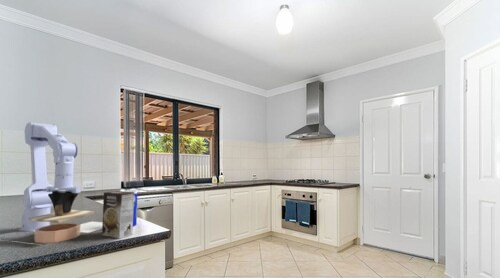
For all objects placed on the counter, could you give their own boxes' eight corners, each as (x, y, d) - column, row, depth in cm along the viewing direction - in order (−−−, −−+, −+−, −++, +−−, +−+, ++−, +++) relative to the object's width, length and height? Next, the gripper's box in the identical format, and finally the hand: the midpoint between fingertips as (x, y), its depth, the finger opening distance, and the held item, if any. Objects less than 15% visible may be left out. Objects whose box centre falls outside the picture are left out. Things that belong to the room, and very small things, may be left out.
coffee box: (100, 236, 97) (102, 192, 98) (115, 232, 103) (117, 190, 104) (119, 239, 93) (120, 193, 95) (133, 234, 99) (134, 191, 101)
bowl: (25, 242, 91) (25, 230, 91) (61, 232, 103) (62, 221, 103) (52, 245, 87) (53, 233, 87) (87, 235, 99) (88, 224, 99)
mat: (58, 231, 105) (58, 229, 105) (91, 222, 119) (91, 221, 119) (87, 234, 100) (88, 232, 100) (118, 224, 115) (118, 223, 115)
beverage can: (131, 228, 108) (132, 191, 109) (120, 228, 109) (121, 191, 110) (139, 225, 113) (140, 190, 114) (128, 225, 114) (129, 190, 115)
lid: (28, 220, 92) (29, 208, 93) (66, 211, 106) (66, 200, 106) (58, 223, 88) (58, 210, 89) (94, 213, 102) (94, 202, 102)
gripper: (38, 175, 96) (36, 213, 95) (68, 175, 92) (67, 215, 91) (57, 174, 103) (55, 209, 102) (86, 174, 99) (85, 211, 98)
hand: (62, 212), depth 97 cm, fingers closed on lid, 3 cm apart
